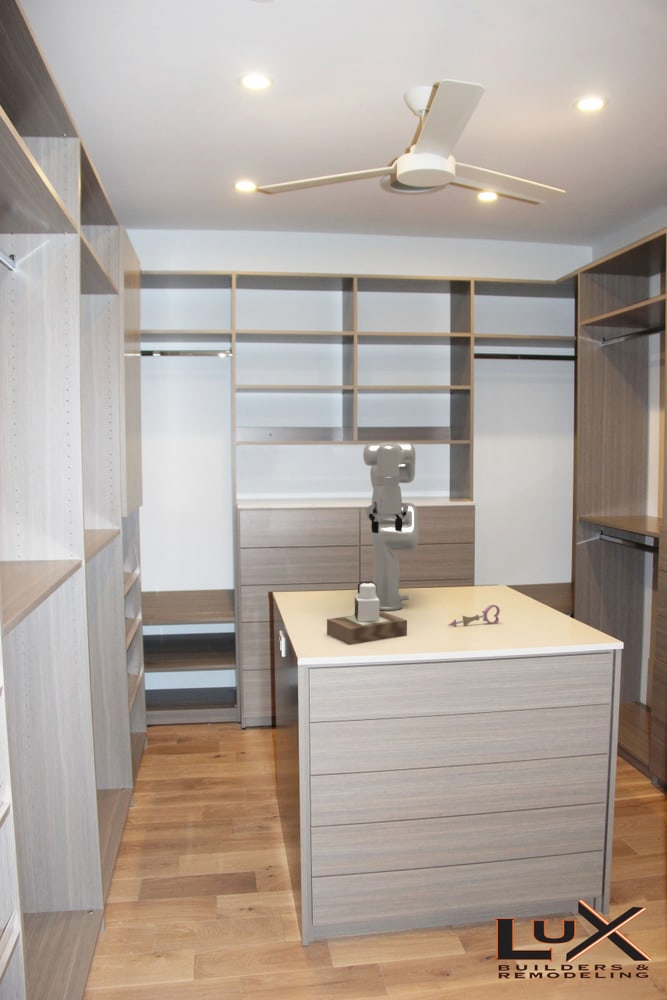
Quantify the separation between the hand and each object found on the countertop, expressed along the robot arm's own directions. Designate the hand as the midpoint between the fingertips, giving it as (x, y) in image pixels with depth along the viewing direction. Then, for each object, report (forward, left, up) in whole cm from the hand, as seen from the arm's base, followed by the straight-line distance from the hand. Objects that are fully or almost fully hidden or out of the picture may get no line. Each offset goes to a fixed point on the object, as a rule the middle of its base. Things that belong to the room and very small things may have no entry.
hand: (386, 531), depth 254 cm
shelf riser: (+14, +9, -32) cm, 36 cm away
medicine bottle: (+14, +9, -27) cm, 32 cm away
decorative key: (-25, +17, -33) cm, 44 cm away
